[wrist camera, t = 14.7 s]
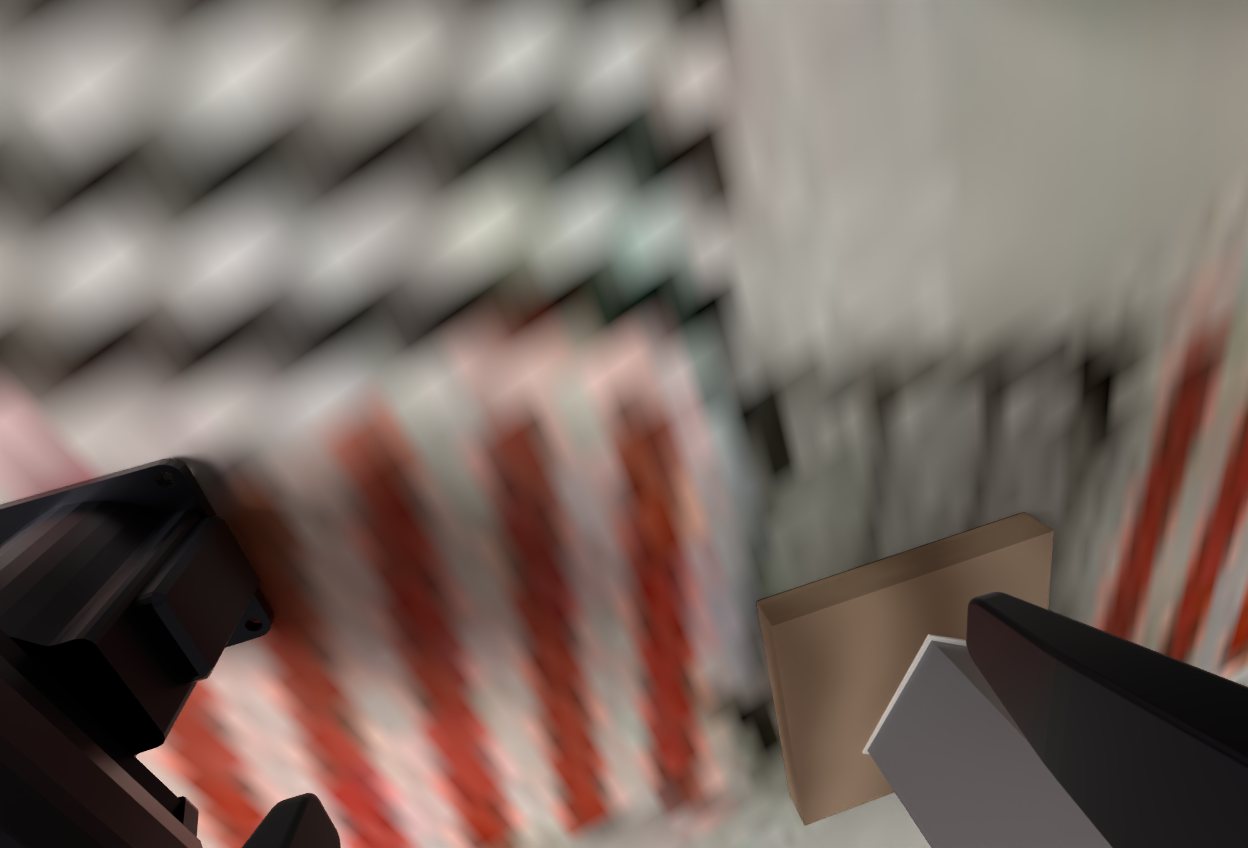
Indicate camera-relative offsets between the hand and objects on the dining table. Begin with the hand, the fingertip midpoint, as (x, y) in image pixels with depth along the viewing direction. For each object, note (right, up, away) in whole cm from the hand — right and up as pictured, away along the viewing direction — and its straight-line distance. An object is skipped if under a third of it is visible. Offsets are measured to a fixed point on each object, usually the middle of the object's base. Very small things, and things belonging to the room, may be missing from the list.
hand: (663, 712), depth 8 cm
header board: (+12, -7, +20) cm, 24 cm away
